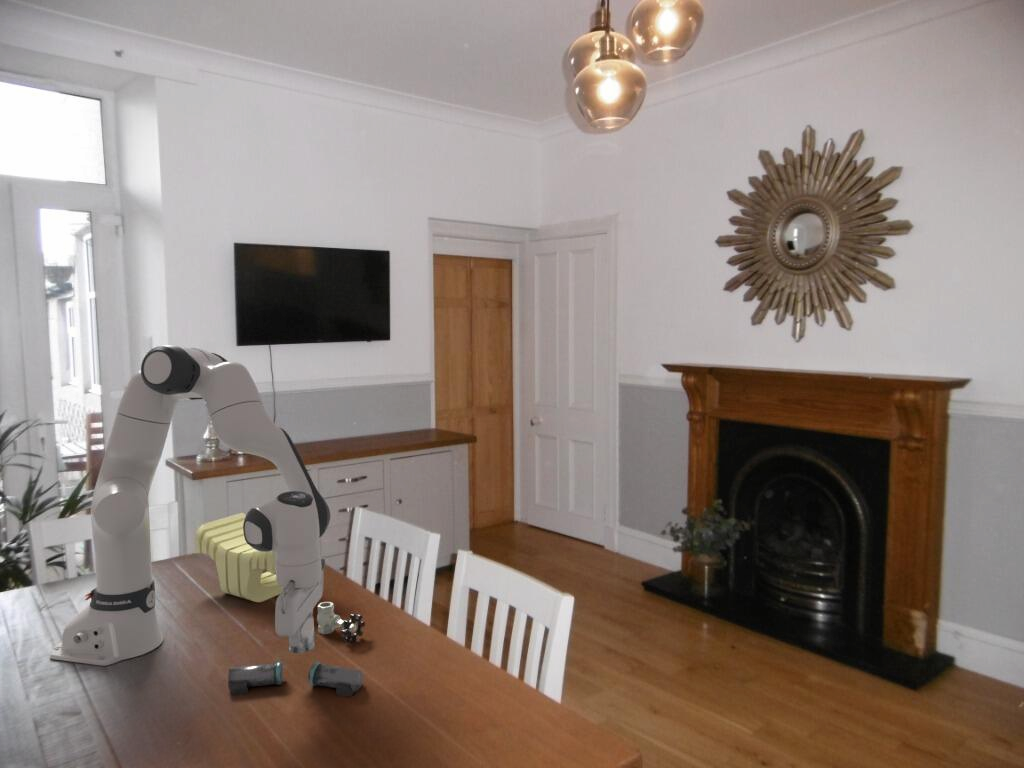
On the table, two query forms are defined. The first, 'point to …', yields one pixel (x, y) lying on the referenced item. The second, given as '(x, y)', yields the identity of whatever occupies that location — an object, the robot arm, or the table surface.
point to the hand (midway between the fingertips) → (301, 637)
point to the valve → (338, 622)
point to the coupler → (305, 637)
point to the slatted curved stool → (238, 559)
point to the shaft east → (336, 678)
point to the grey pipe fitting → (254, 676)
